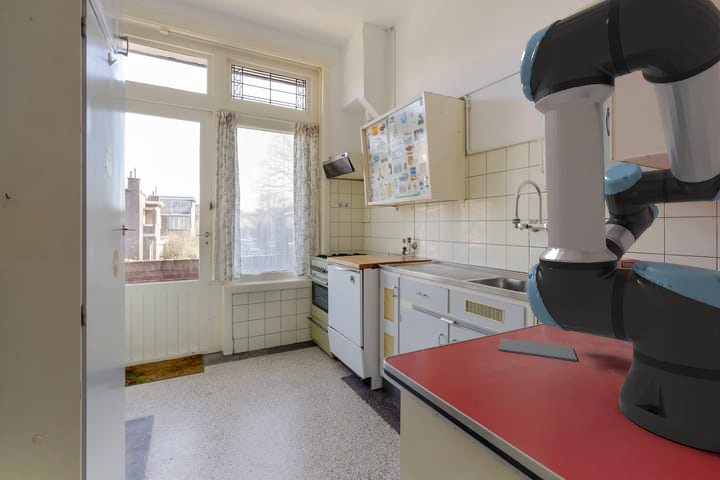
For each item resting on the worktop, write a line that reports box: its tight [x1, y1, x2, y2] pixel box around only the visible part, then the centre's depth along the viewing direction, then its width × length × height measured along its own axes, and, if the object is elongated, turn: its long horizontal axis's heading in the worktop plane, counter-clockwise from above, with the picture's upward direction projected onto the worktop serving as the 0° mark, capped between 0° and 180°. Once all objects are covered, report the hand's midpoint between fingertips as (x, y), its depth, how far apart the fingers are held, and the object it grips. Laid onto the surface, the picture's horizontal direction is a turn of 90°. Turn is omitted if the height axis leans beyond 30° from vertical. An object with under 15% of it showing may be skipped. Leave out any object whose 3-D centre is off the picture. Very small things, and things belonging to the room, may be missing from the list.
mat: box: [497, 337, 578, 362], centre depth 80 cm, size 9×16×1 cm, turn 63°
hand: (547, 312), depth 77 cm, fingers closed on block, 5 cm apart
